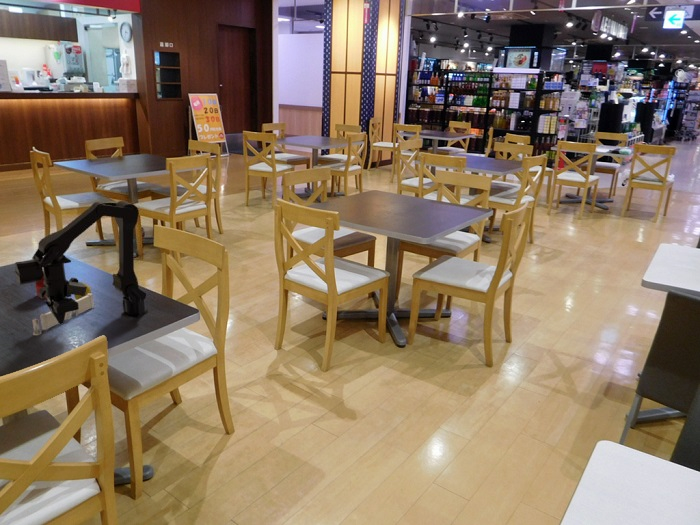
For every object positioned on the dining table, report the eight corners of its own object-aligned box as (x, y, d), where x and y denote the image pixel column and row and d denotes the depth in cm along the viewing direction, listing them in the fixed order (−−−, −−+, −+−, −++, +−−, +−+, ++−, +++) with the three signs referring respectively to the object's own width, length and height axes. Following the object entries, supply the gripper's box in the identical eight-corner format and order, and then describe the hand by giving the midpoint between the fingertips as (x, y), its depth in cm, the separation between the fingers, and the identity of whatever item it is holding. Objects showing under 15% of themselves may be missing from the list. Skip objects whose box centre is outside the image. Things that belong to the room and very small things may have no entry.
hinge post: (77, 315, 187) (75, 302, 186) (73, 317, 186) (72, 303, 184) (73, 314, 188) (72, 301, 186) (70, 316, 186) (68, 303, 185)
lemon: (72, 304, 196) (69, 283, 194) (85, 299, 201) (83, 279, 198) (82, 307, 194) (79, 286, 191) (95, 302, 198) (93, 282, 196)
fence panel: (94, 307, 194) (92, 294, 193) (79, 314, 188) (77, 300, 186) (90, 306, 195) (88, 293, 193) (75, 314, 188) (73, 300, 187)
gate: (67, 316, 185) (65, 303, 183) (70, 317, 185) (69, 304, 183) (41, 328, 175) (39, 315, 174) (45, 329, 175) (43, 316, 174)
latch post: (43, 333, 174) (41, 318, 172) (37, 336, 172) (35, 321, 170) (37, 331, 175) (35, 317, 173) (31, 334, 172) (29, 320, 171)
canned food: (43, 300, 198) (39, 272, 194) (33, 295, 202) (29, 267, 199) (64, 295, 204) (61, 267, 200) (54, 289, 208) (50, 262, 205)
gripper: (93, 280, 168) (98, 326, 173) (72, 264, 181) (77, 308, 186) (54, 288, 161) (60, 336, 166) (35, 271, 173) (41, 316, 178)
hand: (61, 323), depth 174 cm, fingers closed
